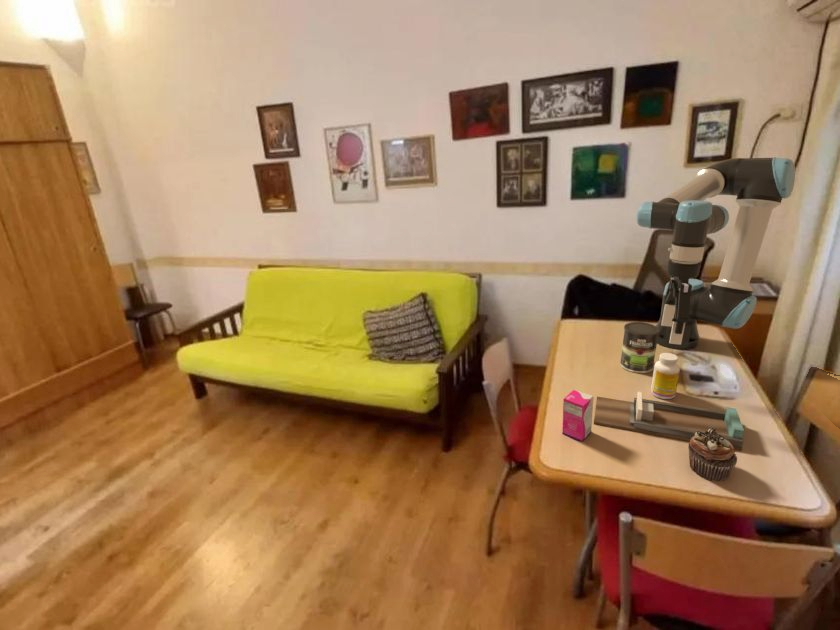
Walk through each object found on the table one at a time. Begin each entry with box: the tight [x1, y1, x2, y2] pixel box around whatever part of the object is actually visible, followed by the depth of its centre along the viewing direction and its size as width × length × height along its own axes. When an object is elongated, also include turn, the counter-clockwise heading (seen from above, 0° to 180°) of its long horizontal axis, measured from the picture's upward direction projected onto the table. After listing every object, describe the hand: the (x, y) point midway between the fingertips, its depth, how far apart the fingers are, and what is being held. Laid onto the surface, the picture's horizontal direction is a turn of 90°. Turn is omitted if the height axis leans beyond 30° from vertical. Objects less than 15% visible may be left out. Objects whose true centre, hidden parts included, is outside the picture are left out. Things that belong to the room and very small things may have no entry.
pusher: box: [636, 391, 654, 421], centre depth 120 cm, size 9×4×5 cm, turn 156°
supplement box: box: [561, 389, 594, 443], centre depth 116 cm, size 6×6×12 cm
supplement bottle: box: [650, 352, 681, 400], centre depth 129 cm, size 7×7×13 cm
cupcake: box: [688, 428, 738, 482], centre depth 101 cm, size 10×10×10 cm
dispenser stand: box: [593, 396, 745, 452], centre depth 119 cm, size 13×34×5 cm, turn 66°
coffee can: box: [619, 321, 659, 374], centre depth 145 cm, size 10×10×14 cm
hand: (670, 334), depth 124 cm, fingers open, 13 cm apart
